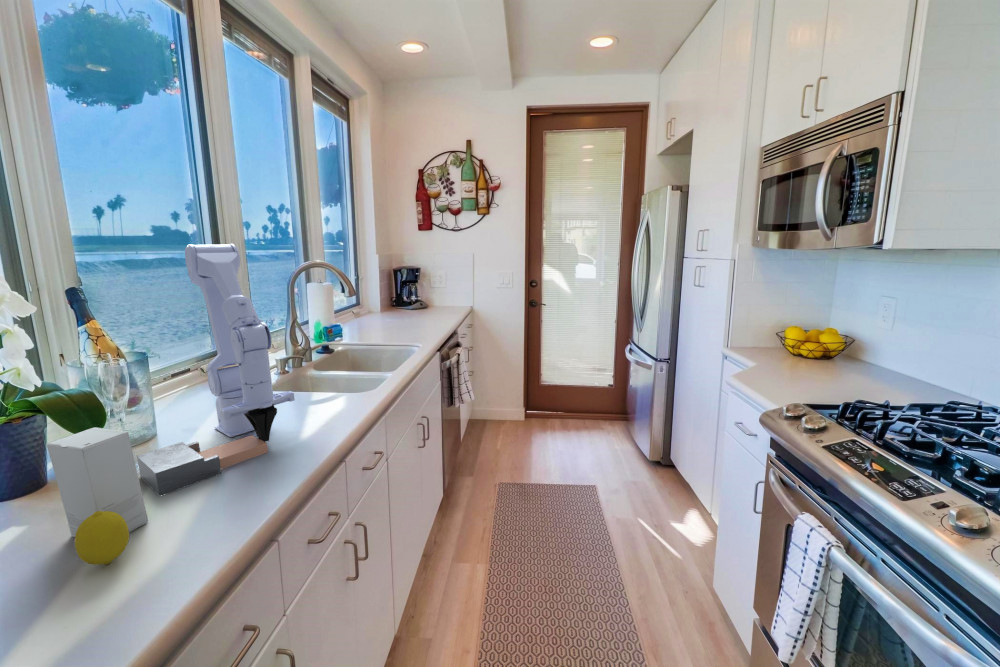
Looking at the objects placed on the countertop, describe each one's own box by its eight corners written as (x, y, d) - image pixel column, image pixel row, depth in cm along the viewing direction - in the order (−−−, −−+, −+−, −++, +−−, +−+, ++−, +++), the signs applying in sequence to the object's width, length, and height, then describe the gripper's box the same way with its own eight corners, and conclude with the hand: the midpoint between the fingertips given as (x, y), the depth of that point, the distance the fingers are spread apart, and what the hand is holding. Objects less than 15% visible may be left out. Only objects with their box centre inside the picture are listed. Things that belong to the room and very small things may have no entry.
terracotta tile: (191, 466, 91) (189, 455, 91) (253, 445, 101) (251, 435, 100) (205, 476, 87) (203, 464, 87) (268, 453, 96) (266, 442, 96)
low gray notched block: (140, 476, 87) (136, 455, 86) (199, 457, 94) (196, 437, 93) (159, 496, 80) (155, 473, 79) (221, 473, 87) (218, 452, 86)
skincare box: (149, 522, 72) (132, 430, 69) (102, 548, 66) (81, 449, 63) (114, 513, 75) (96, 424, 72) (65, 537, 69) (44, 441, 66)
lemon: (103, 580, 59) (91, 526, 58) (70, 575, 60) (57, 521, 59) (143, 553, 65) (134, 502, 63) (112, 548, 66) (102, 498, 64)
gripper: (227, 393, 88) (236, 457, 91) (298, 375, 99) (305, 433, 102) (212, 386, 92) (222, 448, 95) (283, 370, 104) (289, 426, 106)
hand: (264, 440), depth 99 cm, fingers closed
